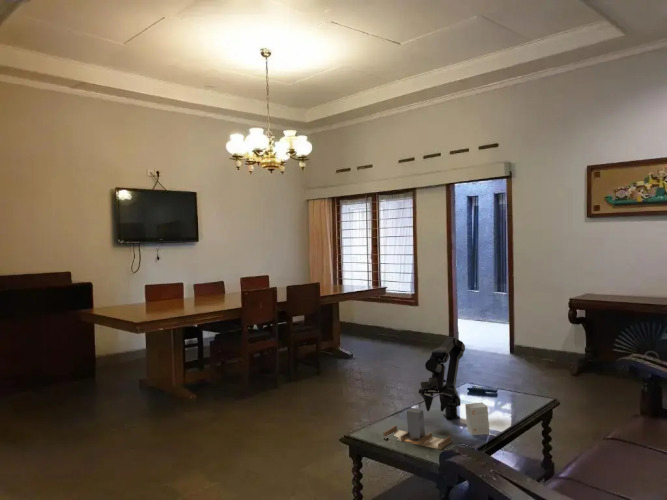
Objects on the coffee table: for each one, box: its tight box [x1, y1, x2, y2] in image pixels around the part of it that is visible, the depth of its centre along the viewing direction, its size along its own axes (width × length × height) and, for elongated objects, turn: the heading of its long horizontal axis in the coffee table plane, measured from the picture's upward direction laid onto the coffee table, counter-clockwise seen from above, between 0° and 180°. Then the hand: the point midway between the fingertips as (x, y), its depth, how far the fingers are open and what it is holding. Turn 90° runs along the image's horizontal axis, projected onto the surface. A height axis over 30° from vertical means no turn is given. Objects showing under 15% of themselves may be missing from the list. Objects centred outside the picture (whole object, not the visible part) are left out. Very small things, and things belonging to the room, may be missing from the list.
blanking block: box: [406, 407, 426, 441], centre depth 224 cm, size 6×4×12 cm, turn 51°
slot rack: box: [383, 424, 452, 450], centre depth 224 cm, size 28×10×3 cm, turn 51°
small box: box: [465, 402, 490, 437], centre depth 227 cm, size 8×6×13 cm
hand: (434, 411), depth 231 cm, fingers open, 9 cm apart
